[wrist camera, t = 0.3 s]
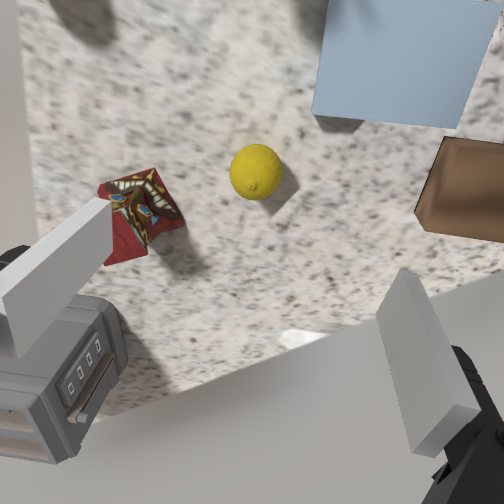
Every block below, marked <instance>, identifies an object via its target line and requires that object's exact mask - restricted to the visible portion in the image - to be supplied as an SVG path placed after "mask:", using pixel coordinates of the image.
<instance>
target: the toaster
mask: <svg viewBox="0 0 504 504" xmlns="http://www.w3.org/2000/svg"><path fill="white" fill-rule="evenodd" d="M127 362H128V356H127V352H126V347H125V343H124V339H123V335H122V330H121V326H120V322H119V317H118V313H117V311H116V308H115V307H114V306H113V305H112V304H111V303H110V302H109V301H107V300H105V299H103V298H99V297H93V296H84V295H75V296H74V297H73V299H72V300H71V301H70V302H69V303H68V304H67V305H66V307H65V308H64V309H63V310H62V311H61V312H60V314H59V315H58V316H57V317H56V318H55V319H54V320H53V322H52V323H51V324H50V325H49V326H48V327H47V329H46V330H45V331H44V332H43V333H42V334H41V335H40V337H39V338H38V339H37V340H36V341H35V342H34V344H33V345H32V346H31V347H30V348H29V349H28V350H27V352H26V353H25V354H24V355H23V356H22V357H21V359H20V360H15V359H11V358H7V357H3V356H0V456H6V457H12V458H18V459H24V460H30V461H37V462H43V463H49V464H58V463H59V462H61V461H64V460H66V459H68V458H72V457H75V456H76V455H77V454H78V452H79V450H80V449H81V445H80V444H81V442H82V440H83V438H84V437H85V435H86V433H87V431H88V429H89V427H90V425H91V424H92V422H93V420H94V418H95V416H96V414H97V412H98V411H99V409H100V407H101V405H102V403H103V401H104V399H105V398H106V396H107V394H108V392H109V390H110V389H113V388H114V387H115V386H116V384H117V382H118V381H119V379H118V376H120V375H121V373H122V372H123V370H124V368H125V366H126V364H127Z"/></svg>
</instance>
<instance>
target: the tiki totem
mask: <svg viewBox="0 0 504 504" xmlns="http://www.w3.org/2000/svg"><path fill="white" fill-rule="evenodd" d="M97 192H98V195H99V198H101V199H105V200H109V201H111V205H112V236H113V252H112V254H111V255H110V256H109V257H108V258H107V259H106V260H105V262H104V263H103V264H104V266H109V265H112V264H116V263H120V262H124V261H127V260H131V259H135V258H138V257H142V256H146V255H148V249H147V245H148V244H149V243H150V242H151V241H152V240H153V239H155V238H156V237H157V236H158V235H159V234H160V233H162V232H163V231H168V230H172V229H176V228H179V227H181V226H182V225H184V224H186V223H185V222H184V220H183V218H182V216H181V215H180V213H179V211H178V209H177V207H176V205H175V204H174V202H173V200H172V198H171V196H170V195H169V193H168V191H167V189H166V187H165V185H164V184H163V182H162V180H161V178H160V176H159V175H158V173H157V171H156V169H155V168H152V169H149V170H145V171H142V172H139V173H136V174H133V175H130V176H126V177H123V178H120V179H117V180H114V181H110V182H106V183H104V184H101V185H100V186H99V189H98V191H97Z"/></svg>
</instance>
